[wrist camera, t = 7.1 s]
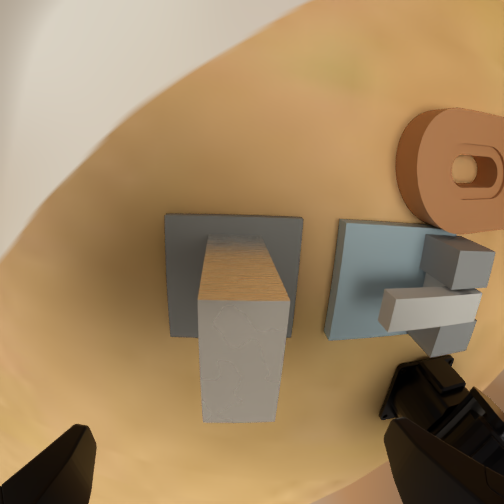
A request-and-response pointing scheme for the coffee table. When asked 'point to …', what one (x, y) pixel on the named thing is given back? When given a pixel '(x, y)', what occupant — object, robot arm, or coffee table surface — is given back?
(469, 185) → the bracket
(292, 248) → the mat
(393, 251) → the vise
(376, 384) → the coffee table surface
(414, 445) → the robot arm
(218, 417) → the wood-topped grey block
